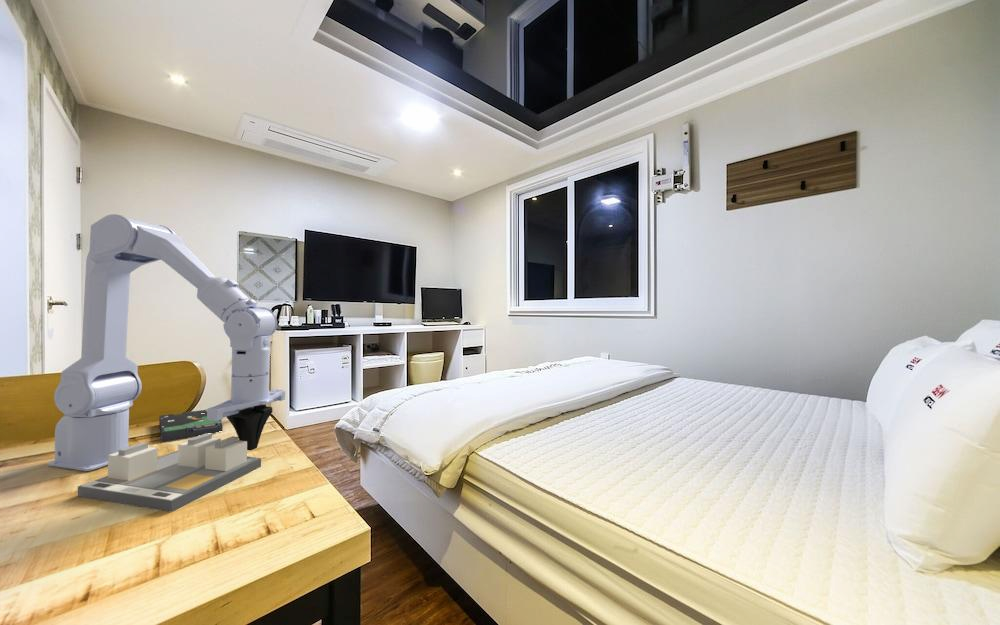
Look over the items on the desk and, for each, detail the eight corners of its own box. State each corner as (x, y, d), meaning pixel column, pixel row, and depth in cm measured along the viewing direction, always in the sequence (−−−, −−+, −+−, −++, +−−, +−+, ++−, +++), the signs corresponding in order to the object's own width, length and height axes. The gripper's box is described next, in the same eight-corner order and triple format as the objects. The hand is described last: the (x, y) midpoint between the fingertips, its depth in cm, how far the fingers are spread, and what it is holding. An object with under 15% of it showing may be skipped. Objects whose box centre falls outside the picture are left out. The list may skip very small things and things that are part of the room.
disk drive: (157, 427, 86) (161, 444, 75) (158, 415, 86) (161, 431, 75) (213, 419, 93) (223, 433, 82) (213, 408, 93) (224, 421, 82)
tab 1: (107, 477, 57) (108, 449, 57) (137, 466, 61) (138, 440, 60) (128, 480, 56) (128, 452, 56) (157, 469, 60) (157, 443, 60)
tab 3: (205, 468, 60) (205, 442, 60) (227, 459, 64) (227, 434, 64) (225, 471, 60) (226, 445, 60) (246, 461, 64) (247, 436, 64)
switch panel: (77, 496, 54) (77, 485, 54) (183, 456, 69) (183, 448, 69) (171, 511, 51) (171, 500, 51) (261, 466, 65) (261, 457, 65)
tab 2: (177, 465, 62) (178, 439, 61) (201, 455, 65) (201, 431, 65) (197, 467, 61) (198, 441, 61) (220, 458, 65) (220, 433, 65)
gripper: (233, 383, 58) (231, 467, 59) (299, 369, 73) (297, 437, 73) (197, 380, 60) (195, 463, 60) (268, 367, 74) (267, 433, 74)
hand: (249, 448), depth 66 cm, fingers closed
